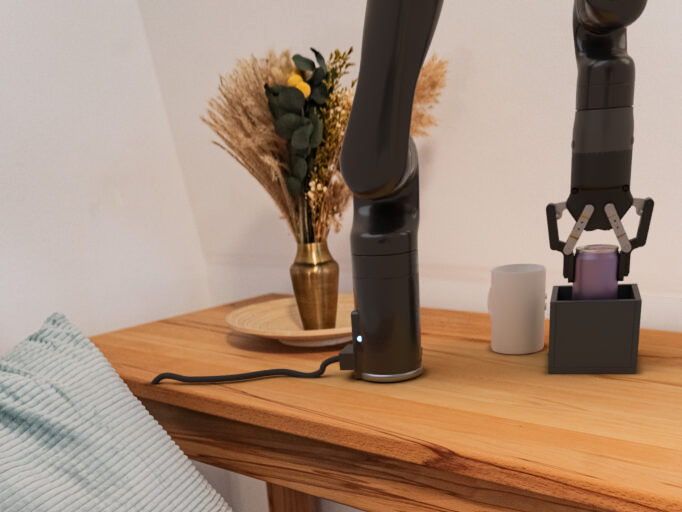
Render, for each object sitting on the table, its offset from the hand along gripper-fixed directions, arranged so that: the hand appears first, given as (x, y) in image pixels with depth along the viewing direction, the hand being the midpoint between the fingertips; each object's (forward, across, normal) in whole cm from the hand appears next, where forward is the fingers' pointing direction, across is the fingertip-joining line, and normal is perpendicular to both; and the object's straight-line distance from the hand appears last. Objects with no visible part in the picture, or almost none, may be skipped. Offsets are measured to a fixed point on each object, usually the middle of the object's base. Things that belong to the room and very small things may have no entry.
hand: (595, 280), depth 115 cm
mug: (+12, +12, -10) cm, 19 cm away
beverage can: (+11, 0, 0) cm, 11 cm away
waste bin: (+11, 0, 0) cm, 11 cm away
